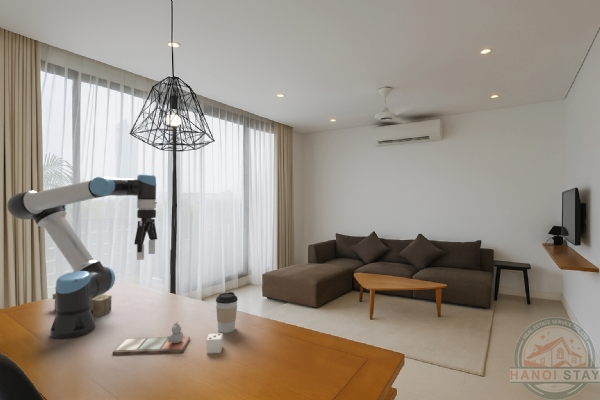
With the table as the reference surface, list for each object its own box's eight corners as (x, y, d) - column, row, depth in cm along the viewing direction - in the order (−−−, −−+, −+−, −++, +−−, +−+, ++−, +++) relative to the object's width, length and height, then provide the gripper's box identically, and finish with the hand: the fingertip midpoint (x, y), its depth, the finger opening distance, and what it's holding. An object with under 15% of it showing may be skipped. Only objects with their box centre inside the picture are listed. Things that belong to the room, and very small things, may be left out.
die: (206, 353, 117) (206, 339, 117) (208, 347, 122) (208, 333, 122) (220, 352, 118) (220, 338, 118) (222, 346, 123) (222, 333, 123)
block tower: (113, 313, 158) (67, 304, 166) (114, 295, 158) (68, 288, 166) (99, 319, 150) (52, 309, 158) (100, 300, 150) (52, 292, 158)
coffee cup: (226, 335, 132) (226, 298, 132) (210, 330, 137) (211, 294, 136) (241, 328, 139) (242, 293, 139) (226, 323, 144) (226, 289, 144)
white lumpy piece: (187, 341, 124) (187, 320, 124) (172, 348, 118) (173, 326, 118) (177, 338, 126) (177, 317, 126) (162, 344, 121) (162, 323, 121)
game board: (112, 354, 115) (112, 351, 115) (126, 340, 126) (126, 337, 126) (182, 352, 117) (182, 349, 117) (190, 339, 128) (190, 336, 128)
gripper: (144, 210, 134) (144, 262, 134) (164, 208, 158) (163, 251, 159) (125, 210, 133) (125, 262, 133) (148, 207, 158) (147, 251, 158)
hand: (146, 256), depth 146 cm, fingers open, 13 cm apart
